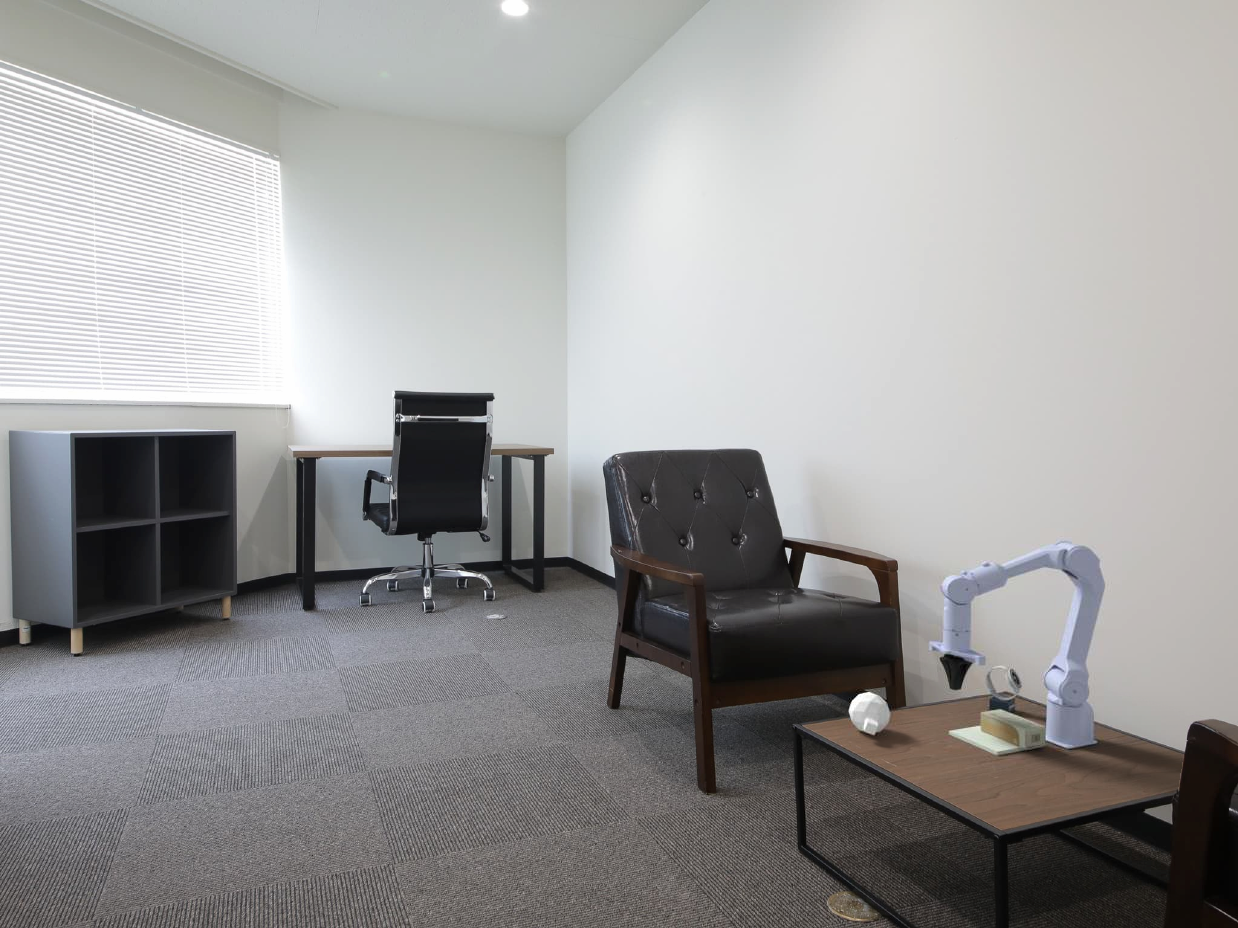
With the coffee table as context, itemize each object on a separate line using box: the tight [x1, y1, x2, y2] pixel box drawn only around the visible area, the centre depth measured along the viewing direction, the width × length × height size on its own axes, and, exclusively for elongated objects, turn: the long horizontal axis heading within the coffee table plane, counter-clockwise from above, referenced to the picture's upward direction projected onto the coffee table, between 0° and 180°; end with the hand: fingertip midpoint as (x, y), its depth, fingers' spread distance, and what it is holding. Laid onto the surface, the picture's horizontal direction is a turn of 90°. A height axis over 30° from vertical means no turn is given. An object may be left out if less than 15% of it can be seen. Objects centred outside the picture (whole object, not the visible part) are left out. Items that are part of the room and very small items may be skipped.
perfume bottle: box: [848, 691, 891, 736], centre depth 182 cm, size 9×9×12 cm
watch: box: [984, 665, 1023, 714], centre depth 199 cm, size 6×8×11 cm
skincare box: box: [980, 709, 1047, 750], centre depth 178 cm, size 6×4×12 cm
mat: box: [948, 725, 1045, 756], centre depth 179 cm, size 14×13×1 cm
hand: (955, 688), depth 182 cm, fingers closed
